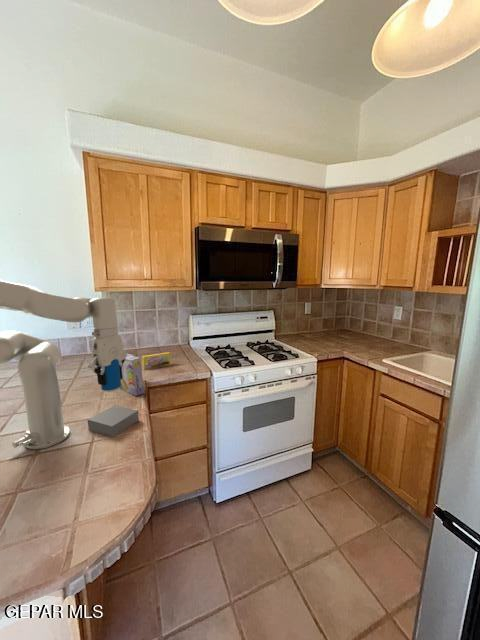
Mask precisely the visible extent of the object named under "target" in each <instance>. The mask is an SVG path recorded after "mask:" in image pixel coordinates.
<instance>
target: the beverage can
mask: <svg viewBox="0 0 480 640" xmlns="http://www.w3.org/2000/svg"><path fill="white" fill-rule="evenodd" d="M100 370H101V367H100ZM103 374H105V376H106V385H100V387H101V390H102V391H104V392H105V393H106V392H107V393H108V392H115V391H117V390H119V389H120V388H119V387H121V378H120V367H119V360H118V359H114V360H113V361H111V365H109V366H107V367H105V370H104V373H103Z"/></svg>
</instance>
